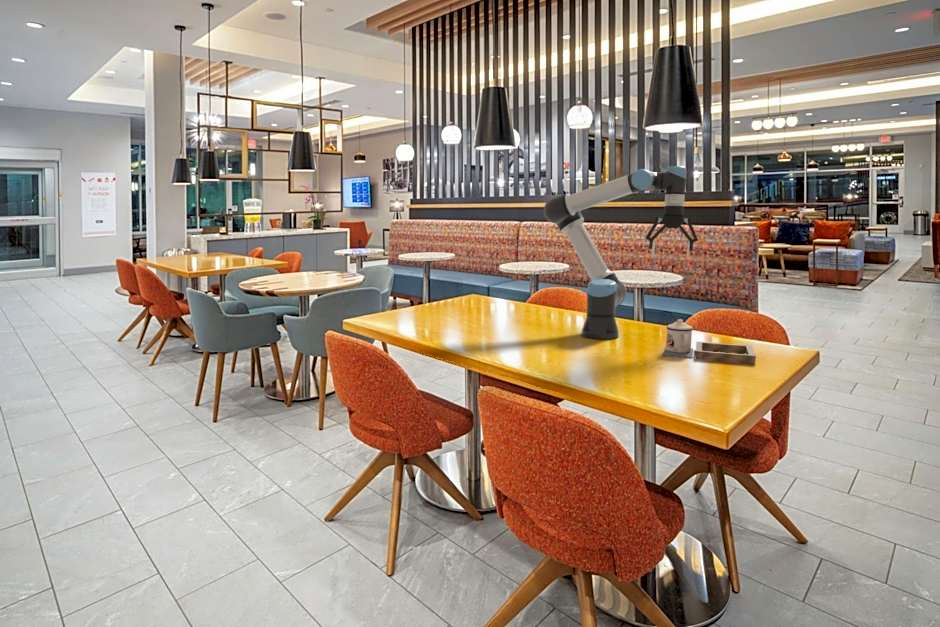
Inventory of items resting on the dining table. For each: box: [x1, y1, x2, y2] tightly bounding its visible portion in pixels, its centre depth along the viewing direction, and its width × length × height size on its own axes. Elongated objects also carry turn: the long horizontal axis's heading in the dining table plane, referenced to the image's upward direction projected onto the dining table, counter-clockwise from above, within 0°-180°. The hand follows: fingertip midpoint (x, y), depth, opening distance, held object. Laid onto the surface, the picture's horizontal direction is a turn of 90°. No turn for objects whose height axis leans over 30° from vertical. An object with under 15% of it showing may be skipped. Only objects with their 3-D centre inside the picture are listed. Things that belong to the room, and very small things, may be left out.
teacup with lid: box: [665, 319, 693, 353], centre depth 215 cm, size 12×9×12 cm
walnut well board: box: [694, 341, 757, 366], centre depth 210 cm, size 19×18×3 cm
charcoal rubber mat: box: [662, 345, 694, 359], centre depth 216 cm, size 10×15×1 cm, turn 159°
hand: (669, 258), depth 241 cm, fingers open, 13 cm apart
